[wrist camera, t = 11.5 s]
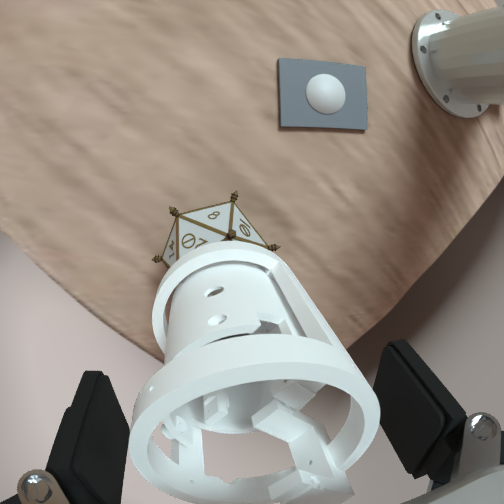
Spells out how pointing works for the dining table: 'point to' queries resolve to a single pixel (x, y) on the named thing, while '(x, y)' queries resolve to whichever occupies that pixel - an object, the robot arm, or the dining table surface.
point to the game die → (208, 230)
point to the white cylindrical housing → (246, 380)
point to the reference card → (322, 94)
